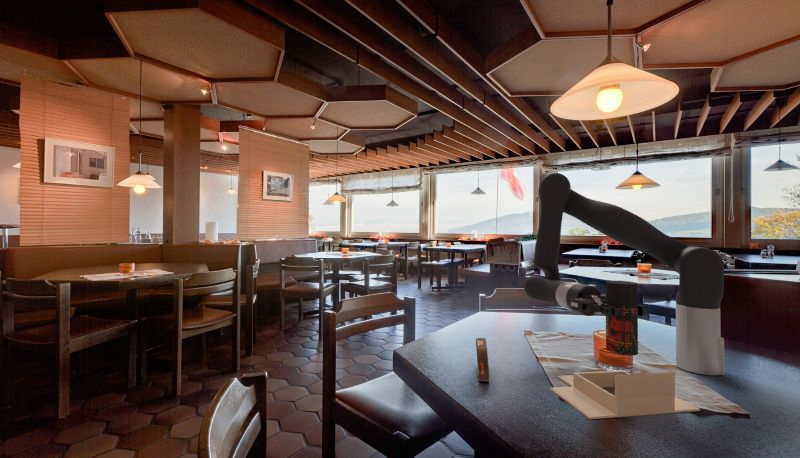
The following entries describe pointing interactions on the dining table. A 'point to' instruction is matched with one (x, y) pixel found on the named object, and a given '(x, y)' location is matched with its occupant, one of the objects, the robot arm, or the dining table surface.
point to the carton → (622, 394)
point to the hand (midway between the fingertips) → (630, 311)
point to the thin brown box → (482, 360)
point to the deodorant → (622, 318)
